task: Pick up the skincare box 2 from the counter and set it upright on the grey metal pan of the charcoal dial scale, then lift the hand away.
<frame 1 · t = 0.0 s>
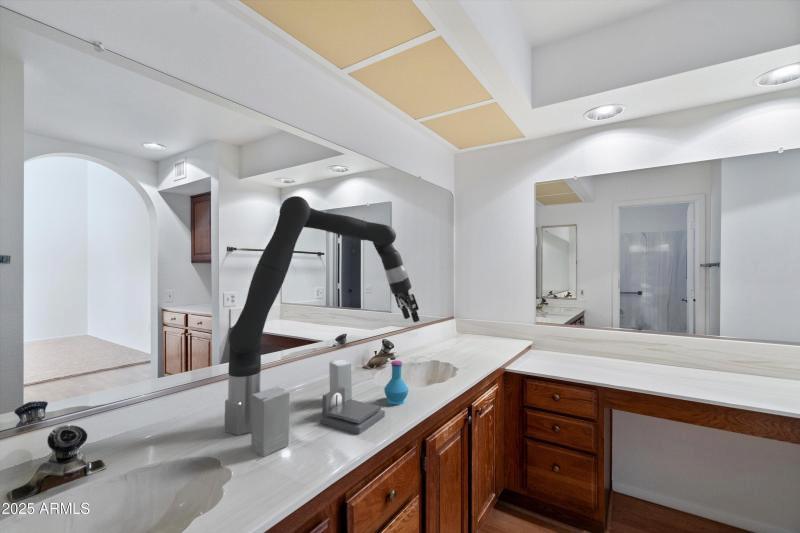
hand: (412, 319, 134), 31 cm above the counter, tool tilted 20°, fingers open, 8 cm apart
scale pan: (353, 411, 120), point 3 cm above the counter, slide at -0.8 cm
skincare box: (270, 449, 100), on the counter
perfume bottle: (396, 401, 138), on the counter
skincare box 2: (340, 402, 136), on the counter
scale base: (353, 420, 120), on the counter
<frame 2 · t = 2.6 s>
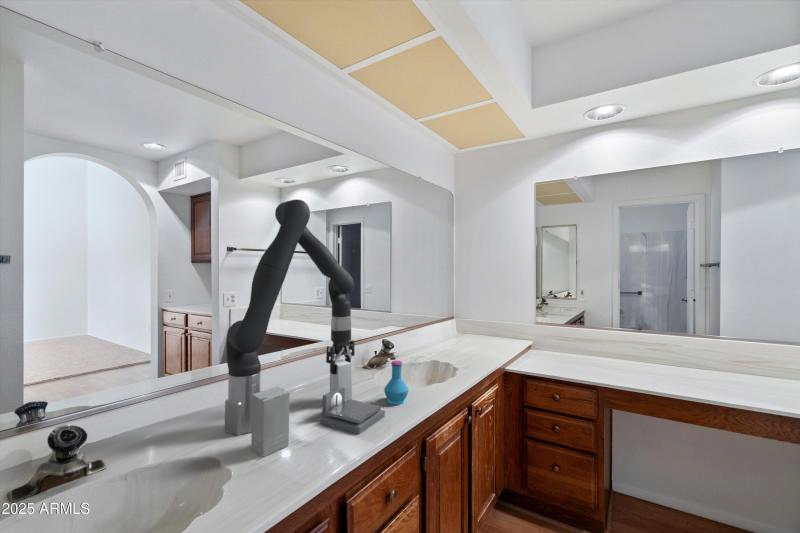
hand: (340, 371, 136), 11 cm above the counter, tool pointing down, fingers open, 8 cm apart
nothing on the counter moved.
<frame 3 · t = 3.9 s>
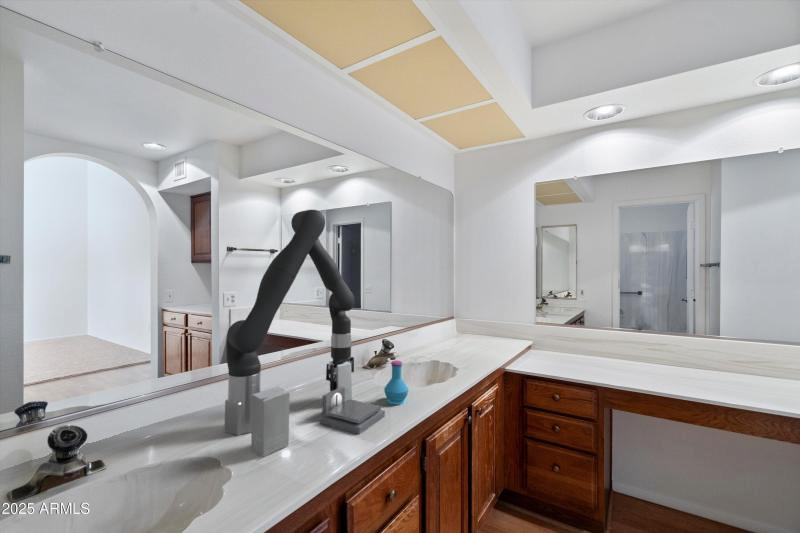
hand: (340, 387, 136), 5 cm above the counter, tool pointing down, fingers closed on skincare box 2, 8 cm apart
skincare box 2: (340, 402, 136), on the counter, touching gripper
everything else where it was.
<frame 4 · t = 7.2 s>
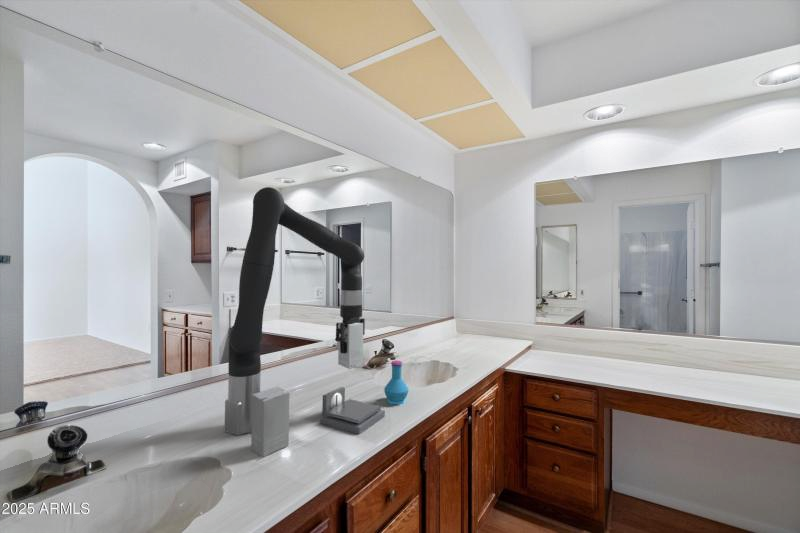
hand: (350, 350, 125), 22 cm above the counter, tool pointing down, fingers closed on skincare box 2, 7 cm apart
skincare box 2: (349, 366, 125), point 16 cm above the counter, touching gripper
everything else where it was.
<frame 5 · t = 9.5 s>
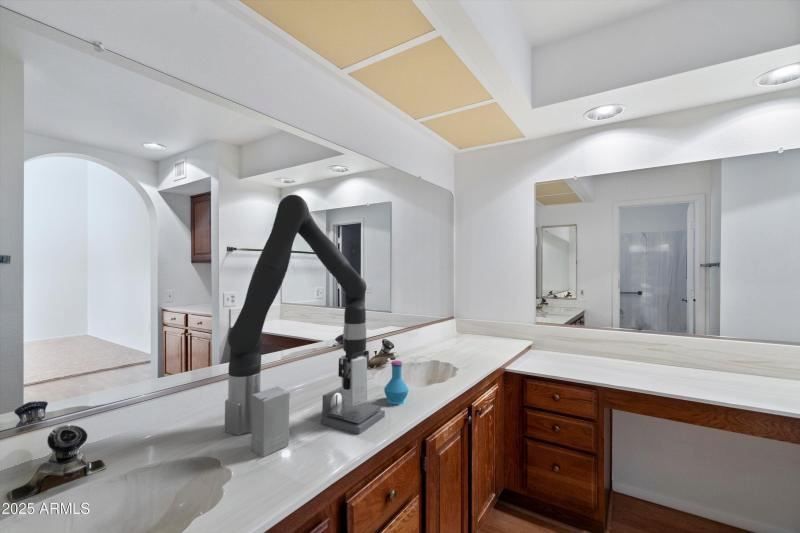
hand: (354, 385, 120), 11 cm above the counter, tool pointing down, fingers closed on skincare box 2, 7 cm apart
skincare box 2: (353, 401, 120), point 6 cm above the counter, touching gripper
everything else where it was.
when the fingers open (10 cm above the counter, at t = 10.8 s): skincare box 2 drops 2 cm, resting on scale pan.
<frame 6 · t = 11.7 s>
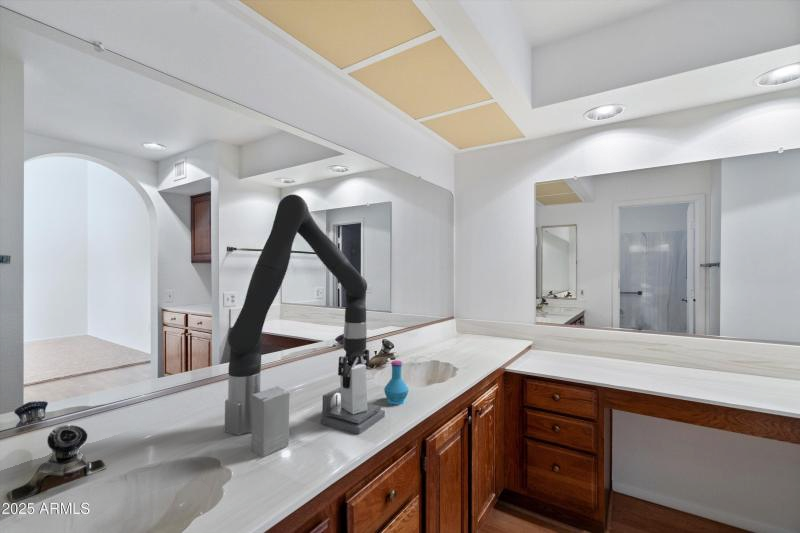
hand: (353, 384, 120), 12 cm above the counter, tool pointing down, fingers open, 8 cm apart
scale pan: (353, 411, 120), point 3 cm above the counter, slide at -0.9 cm, touching skincare box 2
skincare box 2: (353, 409, 120), point 3 cm above the counter, touching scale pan
everything else where it was.
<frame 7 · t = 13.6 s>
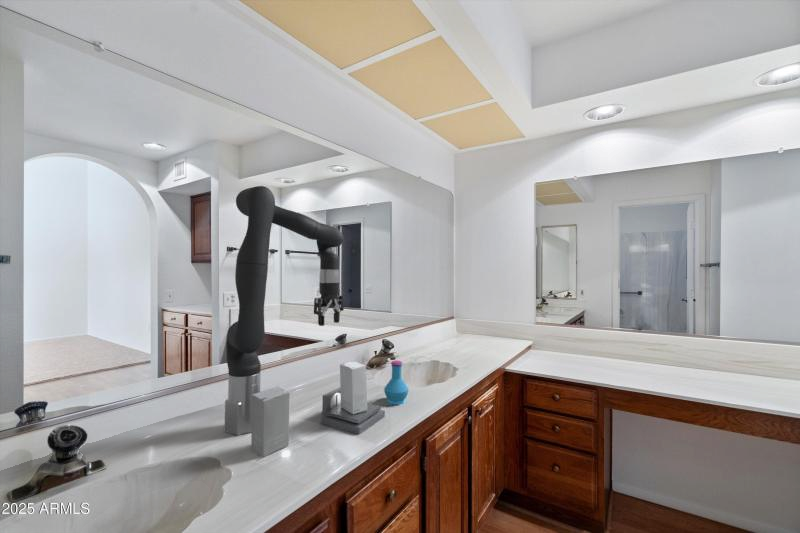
hand: (329, 324, 138), 29 cm above the counter, tool pointing down, fingers open, 8 cm apart
nothing on the counter moved.
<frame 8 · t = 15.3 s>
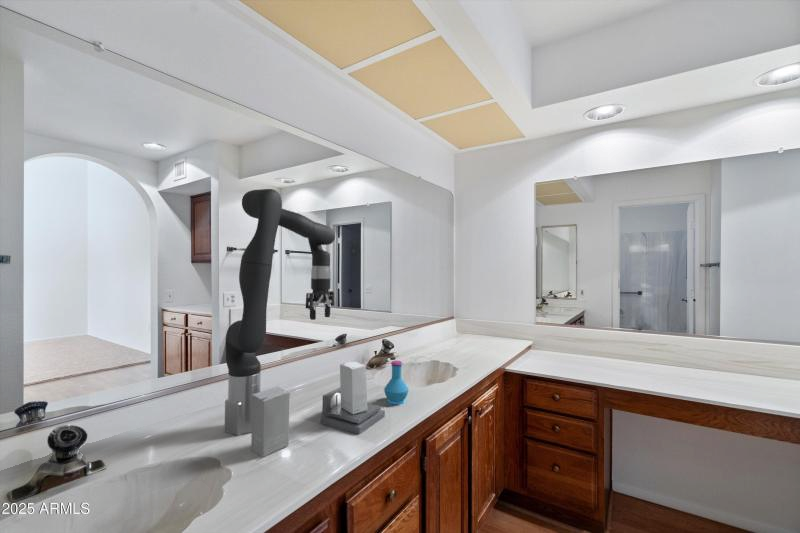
hand: (320, 318, 144), 30 cm above the counter, tool pointing down, fingers open, 8 cm apart
nothing on the counter moved.
at the end: skincare box 2 inside the target area on the scale base (0.3 cm from its centre), point 3.4 cm above the scale base's base; skincare box 2 tilted 0°; the gripper is holding nothing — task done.
